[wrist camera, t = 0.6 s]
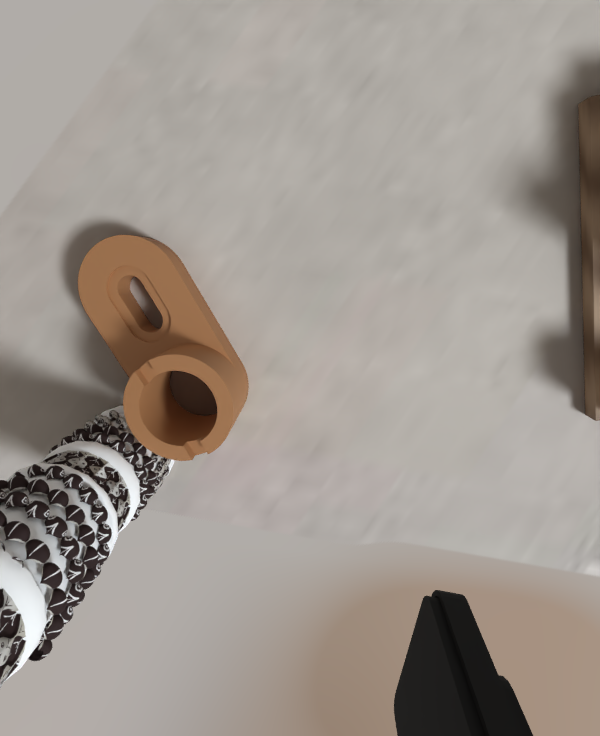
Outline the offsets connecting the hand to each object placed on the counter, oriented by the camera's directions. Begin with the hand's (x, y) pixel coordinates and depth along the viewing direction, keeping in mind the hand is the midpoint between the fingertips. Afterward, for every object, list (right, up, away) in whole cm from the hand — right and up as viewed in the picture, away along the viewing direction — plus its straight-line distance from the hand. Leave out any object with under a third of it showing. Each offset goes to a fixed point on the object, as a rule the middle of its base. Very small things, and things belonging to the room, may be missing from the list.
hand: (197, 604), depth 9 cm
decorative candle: (-14, -2, +32) cm, 35 cm away
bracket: (-9, +8, +29) cm, 32 cm away
